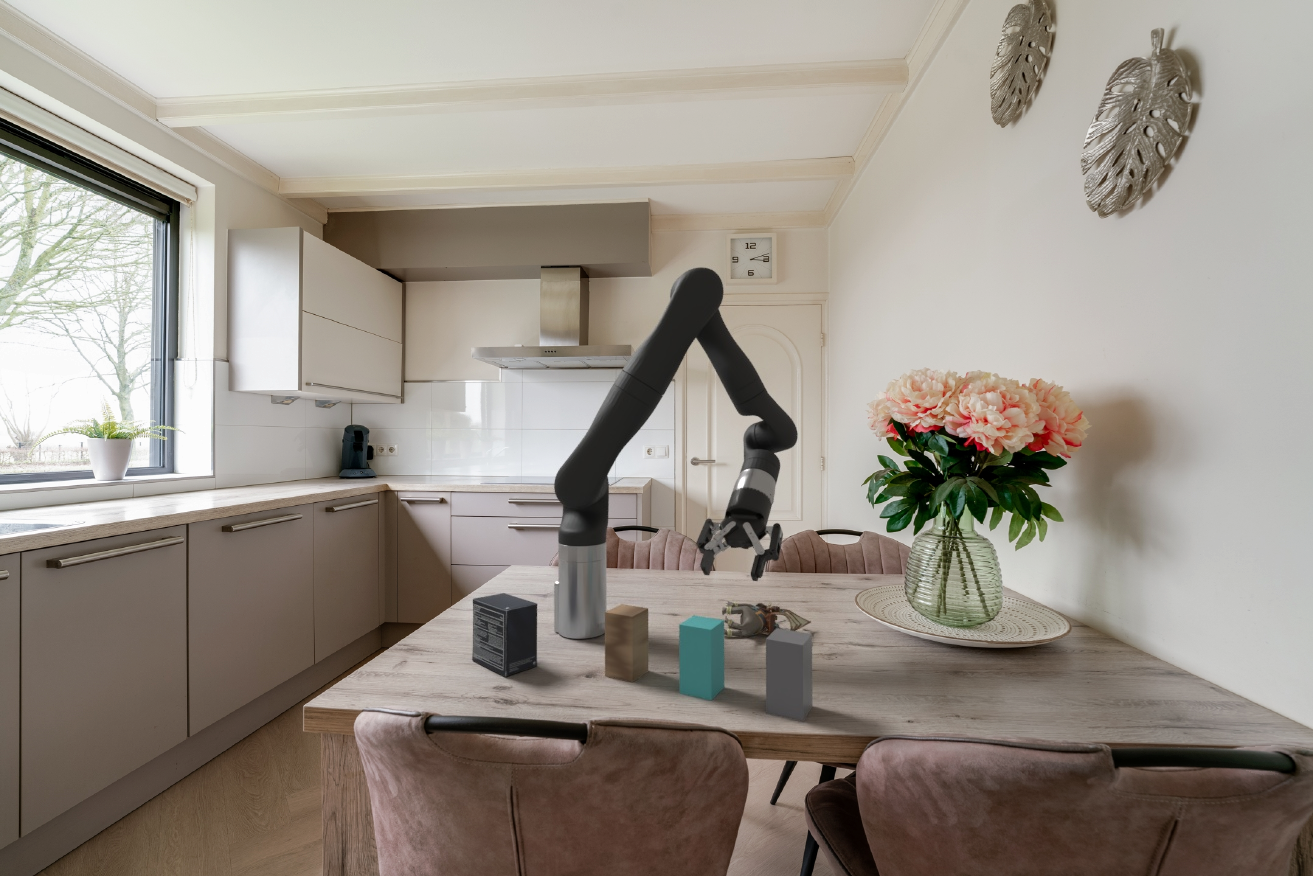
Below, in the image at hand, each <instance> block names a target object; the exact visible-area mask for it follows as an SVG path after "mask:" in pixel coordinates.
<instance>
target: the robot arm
mask: <svg viewBox="0 0 1313 876" xmlns="http://www.w3.org/2000/svg"><path fill="white" fill-rule="evenodd" d="M669 297H670V299H669V302H668V304H667V306H666V308H665V310H664V312H663V313H662V315H661V318H660V319H659V320H658V322H657V324H656V326H655V327H654V328H653V330H652V331H651V332H650V334H649V335H648V336H647V337H646V338H645V339H644V340H643V342H642V343H641V344H640V345H639V346H638V348H637V349H636V350H635V351H634V352H633V354H632V355H631V356H630V358H629V359H628V360H627V362H626V363H625V365H624V366H623V368H622V369H621V371H620V372H619V374H618V375H617V378H616V379H615V381H614V382H613V384H612V385H611V388H610V389H609V390H608V393H607V395H606V396H605V398H604V400H603V402H602V403H601V406H600V408H599V410H598V411H597V413H596V415H595V417H594V418H593V420H592V422H591V425H590V427H589V428H588V430H587V432H586V433H585V435H584V436H583V438H582V439H581V441H580V442H579V443H578V444H577V446H576V447H575V449H574V450H573V451H572V453H571V454H570V455H569V456H568V458H567V459H565V461H564V463H563V464H562V465H561V466H560V468H559V469H558V471H557V473H556V475H555V476H554V478H555V479H554V485H553V487H554V489H553V490H554V494H555V497H556V498H557V501H559V503H561V504H562V515H561V517H562V518H561V522H560V525H559V528H558V532H557V533H558V534H557V538H558V539H557V540H558V541H557V542H558V543H557V546H558V548H557V550H558V551H557V552H558V553H557V554H558V563H557V564H558V566H557V567H558V568H557V569H558V578H557V579H558V580H557V581H555V582H554V585H553V586H554V587H553V592H554V593H553V600H554V601H553V622H554V624H553V627H554V630H553V631H554V632H555V633H558V634H559V635H560V636H562V637H564V638H568V639H575V640H576V639H578V640H579V639H591V638H596V637H599V636H602V635H603V634H604V635H605V612H606V611H608V610H607V605H608V604H607V603H608V602H607V532H608V527H609V526H608V525H609V508H610V507H609V504H610V503H609V502H610V500H609V499H610V498H609V497H610V490H609V489H610V483H609V477H608V475H609V473H610V471H611V470H612V467H613V465H614V464H615V462H616V460H617V459H618V457H619V455H620V453H621V452H622V451H623V449H624V448H625V447H626V446H627V444H628V443H629V442H630V441H631V440H632V439H633V438H634V436H636V434H638V432H639V431H640V430H641V428H642V427H643V426H644V425H645V423H646V422H648V420H649V418H650V417H651V416H652V414H653V413H654V411H655V410H656V408H657V407H658V405H659V403H660V401H661V400H662V398H663V397H664V395H665V393H666V392H667V389H668V388H669V387H670V384H671V383H672V381H673V379H674V377H675V375H676V373H677V372H678V370H679V368H680V366H681V364H682V362H683V360H684V358H685V356H686V353H688V350H689V348H691V346H692V344H693V342H694V341H695V339H696V340H697V342H698V343H699V344H700V347H701V348H702V350H703V351H704V353H705V354H706V356H707V358H708V359H709V361H710V362H711V365H712V368H713V369H714V371H715V372H716V374H717V376H718V379H719V381H720V382H721V384H722V386H723V388H724V389H725V392H726V394H727V395H728V397H729V398H730V401H731V403H732V404H733V406H734V408H735V410H736V412H737V413H738V414H739V415H740V416H743V417H753V416H754V417H758V418H759V419H760V421H757V422H754V423H752V424H750V425H749V426H748V427H747V428H746V430H745V431H744V434H743V439H742V440H743V463H742V466H741V468H740V472H739V474H738V477H737V479H736V480H735V483H734V485H733V488H732V492H731V495H730V497H729V501H728V504H727V507H726V509H725V513H724V518H723V519H722V521H720V522H714V521H713V520H712V519H711V518H707V519H706V520H704V521H705V522H704V524H703V525H702V528H701V531H700V533H699V535H698V538H697V539H696V542H695V544H696V546H697V549H698V551H699V552H700V554H701V555H702V557H701V561H700V563H699V567H700V570H701V571H702V573H703V575H704V576H710V574H711V571H712V568H713V565H714V561H715V557H716V556H717V555H718V554H720V553H721V552H725V551H726V550H727V549H729V548H731V549H737V548H738V549H744V550H749V548H752V549H753V551H754V552H755V555H754V559H753V561H752V562H753V563H752V566H751V570H750V577H751V579H752V581H753V582H758V581H759V579H761V578H762V577H763V576H764V571H765V567H766V563H768V561H771V560H772V561H773V562H777V561H778V560H779V559H780V555H781V548H782V543H783V539H784V538H783V536H784V533H783V529H782V527H781V524H780V523H778V522H776V523H773V525H768V521H769V518H770V515H771V510H772V507H773V506H772V505H773V504H774V502H775V495H776V485H777V482H778V477H779V474H780V470H781V462H780V458H779V457H778V456H777V453H781V452H784V451H787V450H790V449H792V448H794V446H795V445H796V443H797V442H798V438H799V437H798V435H799V434H798V430H797V426H796V423H795V422H794V420H793V419H792V418H791V417H790V415H789V414H788V413H787V412H786V411H785V410H784V409H783V407H781V406H780V405H779V403H777V401H776V400H775V399H774V398H773V397H772V396H771V395H770V394H769V392H768V390H767V388H766V387H765V385H764V382H763V380H762V379H761V377H760V375H759V373H758V372H757V369H756V368H755V366H754V365H753V362H752V361H751V360H750V358H749V357H748V356H747V355H746V353H745V352H744V351H743V350H742V348H741V346H739V344H738V343H737V342H736V340H735V339H734V337H733V336H732V334H731V332H730V331H729V329H728V327H727V325H726V323H725V321H724V319H723V317H722V314H721V312H720V307H721V305H722V303H723V298H724V284H723V281H722V279H721V277H720V275H719V274H718V273H717V272H716V271H715V270H713V269H711V268H708V267H702V266H701V267H694V268H691V269H688V270H686V271H685V272H683V273H682V274H681V275H680V276H678V278H677V279H675V281H674V282H673V283H672V286H671V289H670V292H669ZM718 531H719V532H718ZM767 535H768V536H769V539H770V540H769V541H770V542H769V547H768V548H767V549H764V546H763V545H762V543H761V542H760V541H761V540H762V539H764V538H765V536H767ZM723 539H724V541H723Z"/></svg>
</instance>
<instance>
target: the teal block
mask: <svg viewBox="0 0 1313 876" xmlns="http://www.w3.org/2000/svg"><path fill="white" fill-rule="evenodd" d="M724 620H725V619H720V618H714V617H713V618H712V617H706V616H700V615H694V614H693V615H692V616H691V617H688V618H687V619H686V620H684V621H682V622H681V623H680V624H679V625H678V628H679V630H678V632H679V633H678V634H679V644H678V645H679V649H678V650H679V653H678V655H679V656H678V657H679V659H678V660H679V666H678V668H679V694H681V695H685V696H688V697H689V696H690V697H693V698H698V699H702V700H707V701H713V699H715V697H716V696H718V694H720V693H721V691H723V689H725V635H724V629H725V622H724Z"/></svg>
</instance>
